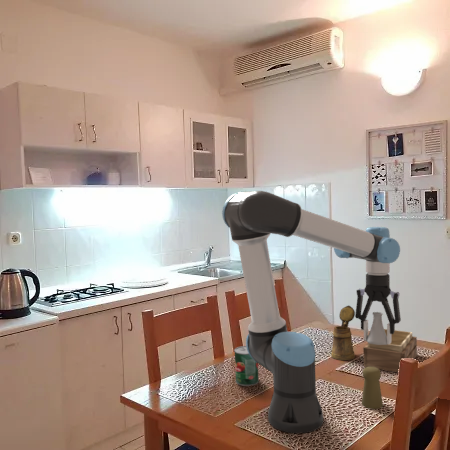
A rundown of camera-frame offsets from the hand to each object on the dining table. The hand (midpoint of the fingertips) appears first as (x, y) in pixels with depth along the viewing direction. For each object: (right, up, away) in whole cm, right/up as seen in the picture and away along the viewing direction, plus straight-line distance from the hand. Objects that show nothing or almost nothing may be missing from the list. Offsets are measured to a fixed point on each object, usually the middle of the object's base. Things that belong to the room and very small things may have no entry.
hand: (377, 341), depth 156 cm
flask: (0, -1, 0) cm, 1 cm away
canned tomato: (-44, -14, +2) cm, 46 cm away
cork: (-8, -14, -18) cm, 25 cm away
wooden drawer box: (+10, -11, +16) cm, 22 cm away
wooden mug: (-5, -12, +25) cm, 28 cm away
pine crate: (+10, -11, +16) cm, 22 cm away
